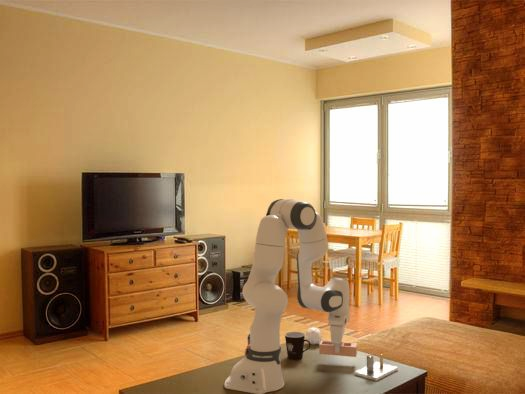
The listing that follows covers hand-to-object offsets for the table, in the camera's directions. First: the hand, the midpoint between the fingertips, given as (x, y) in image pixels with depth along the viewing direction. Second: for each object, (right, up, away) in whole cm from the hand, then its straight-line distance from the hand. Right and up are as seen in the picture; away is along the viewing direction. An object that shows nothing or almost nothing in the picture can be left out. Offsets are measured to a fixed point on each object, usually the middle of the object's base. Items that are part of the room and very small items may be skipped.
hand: (338, 349), depth 222 cm
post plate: (+14, -6, -10) cm, 18 cm away
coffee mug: (-17, -6, +8) cm, 20 cm away
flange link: (0, -2, 0) cm, 2 cm away
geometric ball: (-7, -6, +28) cm, 30 cm away
